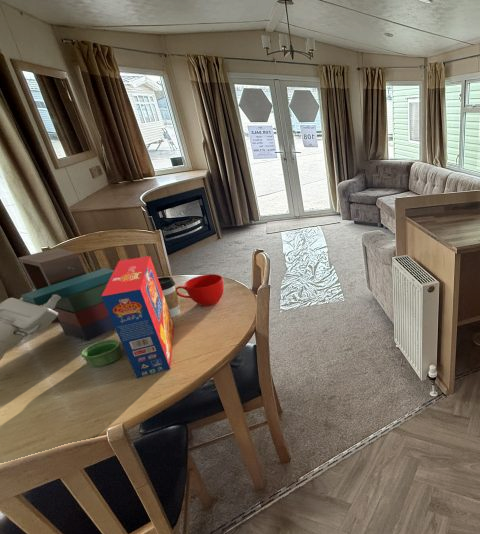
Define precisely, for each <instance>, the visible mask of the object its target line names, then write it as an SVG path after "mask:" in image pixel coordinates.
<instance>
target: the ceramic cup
mask: <svg viewBox="0 0 480 534" xmlns="http://www.w3.org/2000/svg"><path fill="white" fill-rule="evenodd" d="M175 288H176V293H177V297H178V296H179V298H185V299H191V300H192V301H193V302H195V304H198V305H200V306H202V307H209V306H210V307H211V306H214V305H216V304H218V303H219V302H218V301H220V300H221V298H223V295H224V291H225V290H224V289H225V285H224V279H223V276H222V275H219V274H215V273H213V274H210V273H209V274H202V275H199V276H195V277H192V278H190V279H188V280H186V281H185V283H184V286H183V285H180V286H179V285H178V286H176V287H175ZM178 289H183V290H185V291H186V292H187V295H186V294H182V293H181V292H179V291H178Z"/></svg>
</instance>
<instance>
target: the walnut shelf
mask: <svg viewBox="0 0 480 534" xmlns="http://www.w3.org/2000/svg"><path fill="white" fill-rule="evenodd" d="M17 260H18V262H19V263H20V265H21V268H22V269H23V271H24V273H25V275H26V277H27V278H28V281H29V283H30V284H31V287H32V288H33V290H34V289H37V290H38V289H41V288H44V287H48V286H51V285H54V284H57V283H60V282H63V281H66V280H69V279H72V278H75V277H79V276H82V275H85V274H87V271H86V270H85V267H84V264H83V263H82V261H81V257H80V256H79V254H78V252H75V251H71V250H66V249H61V248H51V249H47V250H43V251H39V252H35V253H32V254H28V255H24V256H20V257H18V258H17ZM43 305H44V304H43ZM52 310H54V309H52ZM59 321H60V320H59V318H58V316H57V317H56V318H55V319H54V320H53V321H52V322H51V323H52V324H56V323H59Z"/></svg>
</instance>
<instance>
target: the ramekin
mask: <svg viewBox="0 0 480 534" xmlns="http://www.w3.org/2000/svg"><path fill="white" fill-rule="evenodd" d="M80 355H81V357H82V358H83V359H84V360H85V362H86V363H87V365H88V366H90V367H94V368H95V367H97V368H98V367H102V366H106V365H110V364H112V363H114V362H115V361H118V359H120V358H121V357H122V355H123V351H122V348H121V340H118V339H104V340H101V341H98V342H95V343H92V344H89V346H87V347H85V348H84V349H83V350H82V351H81V353H80Z"/></svg>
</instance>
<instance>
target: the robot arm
mask: <svg viewBox="0 0 480 534" xmlns="http://www.w3.org/2000/svg"><path fill="white" fill-rule="evenodd" d="M35 290H37V289H34V288H33V289H32V291H35ZM60 299H61V297H60V296H58V295H56V294H52V295H51V296H50V297H49V300H48V302H47V303H45V304H44V305H41V306H39V305H36V304H32V303H29V302H25V301H24V300H23V298H22V296H21V297H20V298H19V299H18V298H15V297H9V298H7V299H5V300H3V301H2V302H0V361H2V359H3V357H4V356H5V355H6V354H7V353H8V352H9V351H11V350H13V349H14V348H15V347H16V346H18V345H19V344H20V343H21V342H22V341H23V340H24V339H25V338H27V337H28V336H31V335H34V334H36V333H38V332H40V331H42V330H44V329H45V328H46V327H47V326H48V325H50V323H52V321H53V320H54V319H55V318H56V317H57V316H58V312H56V311H54V310H52V309H53V308H55V306H56V303H57V301H58V300H60Z"/></svg>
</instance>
